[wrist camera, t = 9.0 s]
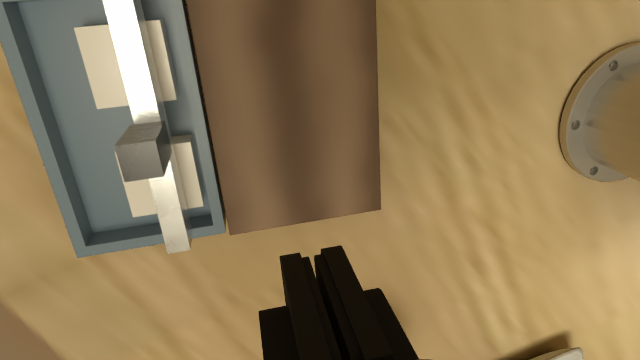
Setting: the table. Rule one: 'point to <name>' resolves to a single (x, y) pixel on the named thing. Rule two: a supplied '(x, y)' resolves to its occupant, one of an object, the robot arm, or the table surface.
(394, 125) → the table surface
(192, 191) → the white tile
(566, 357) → the square plate
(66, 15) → the box
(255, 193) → the walnut board
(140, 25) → the bar
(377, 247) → the table surface
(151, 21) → the white tile
